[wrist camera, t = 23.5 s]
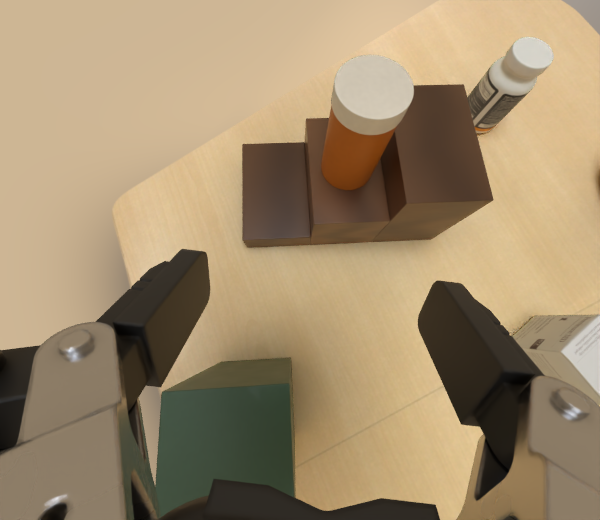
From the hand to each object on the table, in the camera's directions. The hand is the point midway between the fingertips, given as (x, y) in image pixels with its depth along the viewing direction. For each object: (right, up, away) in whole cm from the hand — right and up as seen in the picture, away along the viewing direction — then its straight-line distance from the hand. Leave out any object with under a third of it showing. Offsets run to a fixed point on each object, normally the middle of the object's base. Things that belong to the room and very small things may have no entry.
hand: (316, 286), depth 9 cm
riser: (+4, +9, +26) cm, 28 cm away
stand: (-5, -14, +20) cm, 25 cm away
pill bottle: (+26, +22, +30) cm, 45 cm away
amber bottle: (+4, +11, +19) cm, 23 cm away
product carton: (+27, -10, +22) cm, 36 cm away
